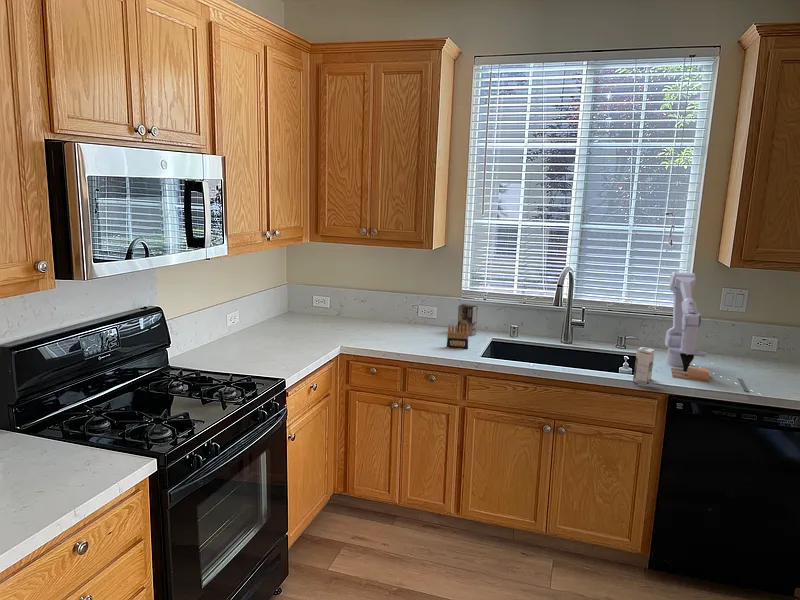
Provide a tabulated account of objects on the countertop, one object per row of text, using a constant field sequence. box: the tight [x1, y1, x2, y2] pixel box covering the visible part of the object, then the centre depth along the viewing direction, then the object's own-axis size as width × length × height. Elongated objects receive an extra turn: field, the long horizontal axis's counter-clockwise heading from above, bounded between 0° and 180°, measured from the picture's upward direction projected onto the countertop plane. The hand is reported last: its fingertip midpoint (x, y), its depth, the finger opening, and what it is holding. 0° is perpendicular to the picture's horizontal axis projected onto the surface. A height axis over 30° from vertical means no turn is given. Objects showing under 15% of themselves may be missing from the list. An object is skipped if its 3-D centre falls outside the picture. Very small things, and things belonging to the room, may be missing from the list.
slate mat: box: [737, 377, 750, 393], centre depth 248 cm, size 18×14×1 cm
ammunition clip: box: [446, 324, 469, 350], centre depth 290 cm, size 11×2×12 cm, turn 82°
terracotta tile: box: [687, 365, 710, 380], centre depth 251 cm, size 7×8×3 cm
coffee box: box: [457, 303, 478, 337], centre depth 319 cm, size 9×6×16 cm
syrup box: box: [632, 346, 656, 386], centre depth 244 cm, size 6×6×14 cm
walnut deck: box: [670, 367, 710, 384], centre depth 253 cm, size 16×14×2 cm
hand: (684, 370), depth 253 cm, fingers closed
